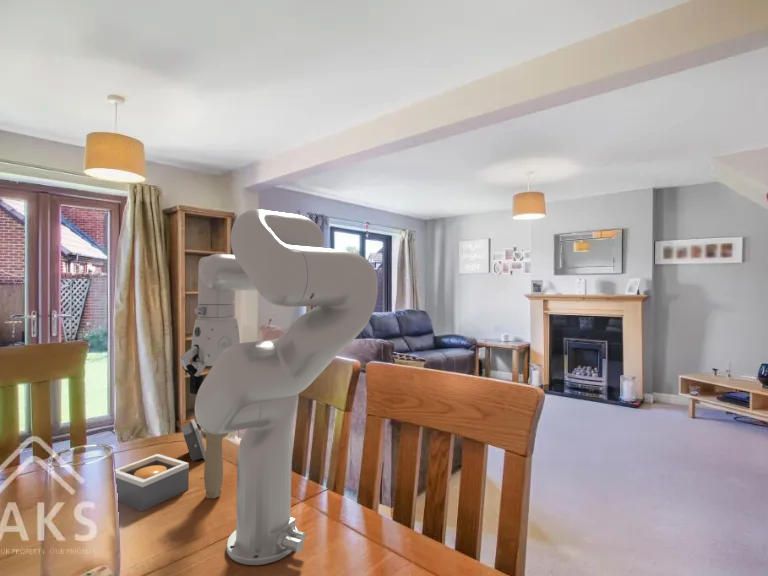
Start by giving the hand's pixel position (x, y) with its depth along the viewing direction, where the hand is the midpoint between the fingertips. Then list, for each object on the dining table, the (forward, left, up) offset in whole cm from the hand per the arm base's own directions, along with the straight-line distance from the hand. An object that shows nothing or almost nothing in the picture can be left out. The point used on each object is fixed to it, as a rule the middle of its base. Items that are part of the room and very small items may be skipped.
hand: (214, 389), depth 94 cm
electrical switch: (+22, -13, -24) cm, 35 cm away
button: (+13, +6, -21) cm, 25 cm away
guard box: (+13, +6, -24) cm, 28 cm away
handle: (0, 0, -24) cm, 24 cm away
